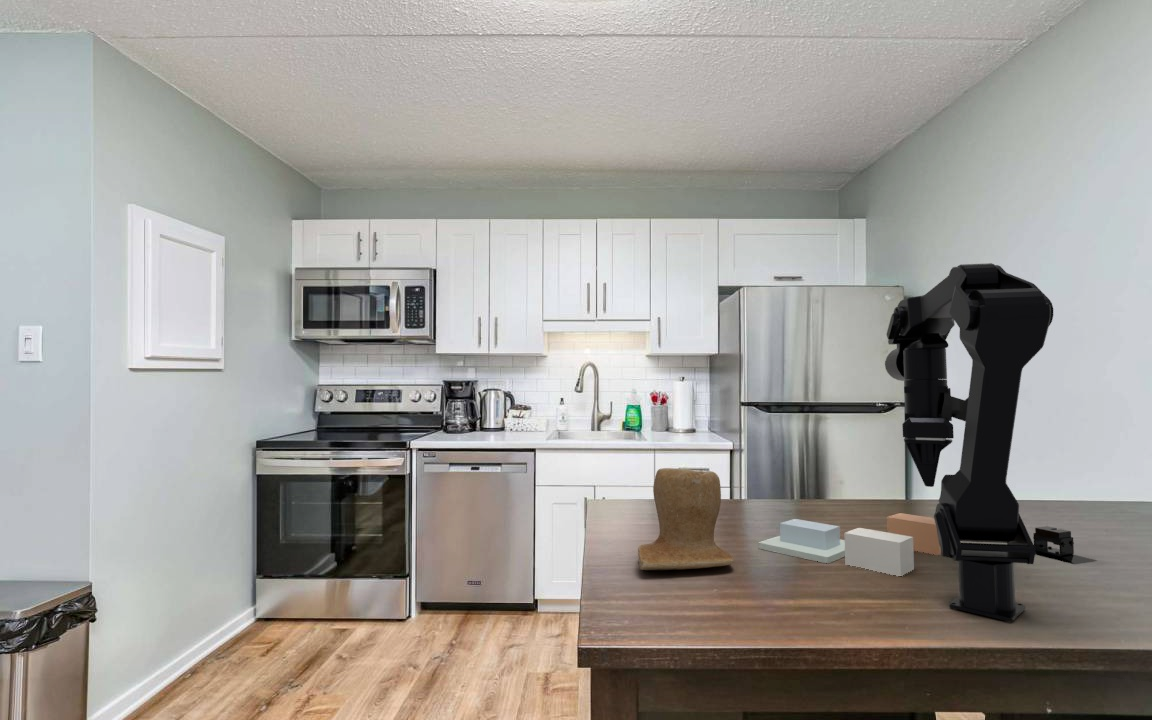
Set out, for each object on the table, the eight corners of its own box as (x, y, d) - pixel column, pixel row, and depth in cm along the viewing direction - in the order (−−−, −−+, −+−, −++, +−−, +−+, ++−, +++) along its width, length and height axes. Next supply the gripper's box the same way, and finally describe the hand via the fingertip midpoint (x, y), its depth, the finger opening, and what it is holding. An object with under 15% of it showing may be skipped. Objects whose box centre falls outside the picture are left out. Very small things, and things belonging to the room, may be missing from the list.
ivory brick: (900, 578, 87) (899, 542, 87) (845, 565, 93) (844, 532, 93) (914, 570, 90) (913, 536, 90) (859, 559, 96) (858, 527, 96)
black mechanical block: (1113, 566, 93) (1111, 536, 93) (1081, 572, 90) (1080, 540, 90) (1028, 546, 104) (1027, 519, 105) (998, 550, 102) (997, 523, 102)
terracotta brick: (939, 556, 97) (938, 525, 98) (887, 546, 103) (886, 517, 104) (950, 550, 101) (949, 520, 101) (900, 541, 107) (899, 512, 107)
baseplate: (827, 563, 93) (827, 537, 93) (758, 548, 102) (757, 524, 102) (861, 549, 101) (861, 525, 101) (794, 536, 110) (794, 514, 110)
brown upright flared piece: (713, 552, 100) (711, 461, 101) (743, 574, 88) (741, 471, 89) (623, 556, 98) (622, 463, 99) (642, 580, 86) (640, 474, 87)
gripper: (995, 377, 81) (1000, 495, 80) (983, 380, 97) (987, 478, 96) (900, 379, 87) (904, 489, 86) (904, 381, 103) (907, 473, 102)
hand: (929, 482), depth 92 cm, fingers open, 9 cm apart
